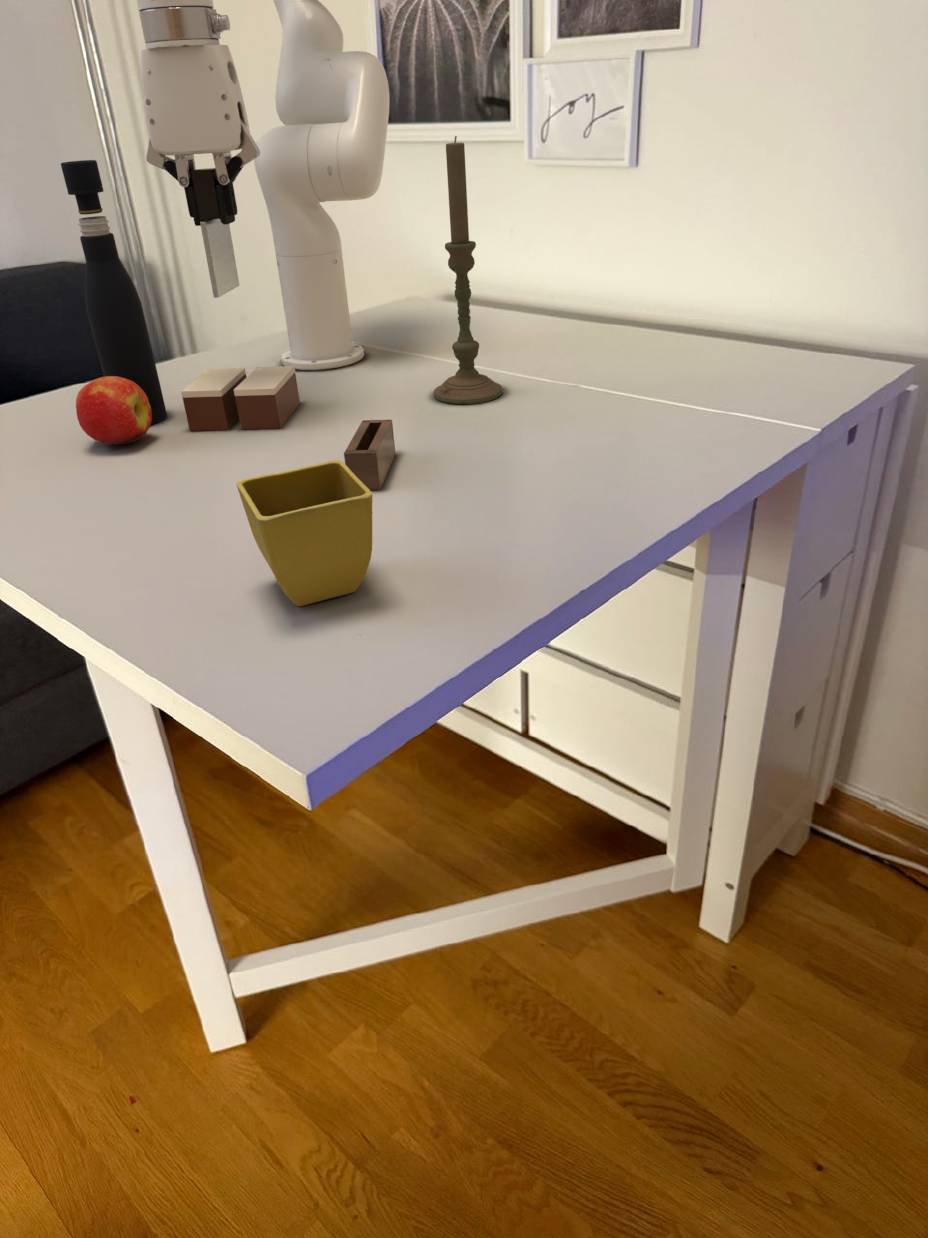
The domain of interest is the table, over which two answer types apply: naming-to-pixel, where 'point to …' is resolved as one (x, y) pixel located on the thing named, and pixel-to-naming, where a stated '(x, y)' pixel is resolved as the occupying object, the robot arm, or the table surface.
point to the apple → (113, 410)
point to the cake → (213, 399)
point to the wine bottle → (112, 293)
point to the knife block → (371, 452)
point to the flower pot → (311, 529)
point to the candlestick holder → (462, 293)
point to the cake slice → (267, 397)
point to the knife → (215, 233)
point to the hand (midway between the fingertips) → (215, 221)
